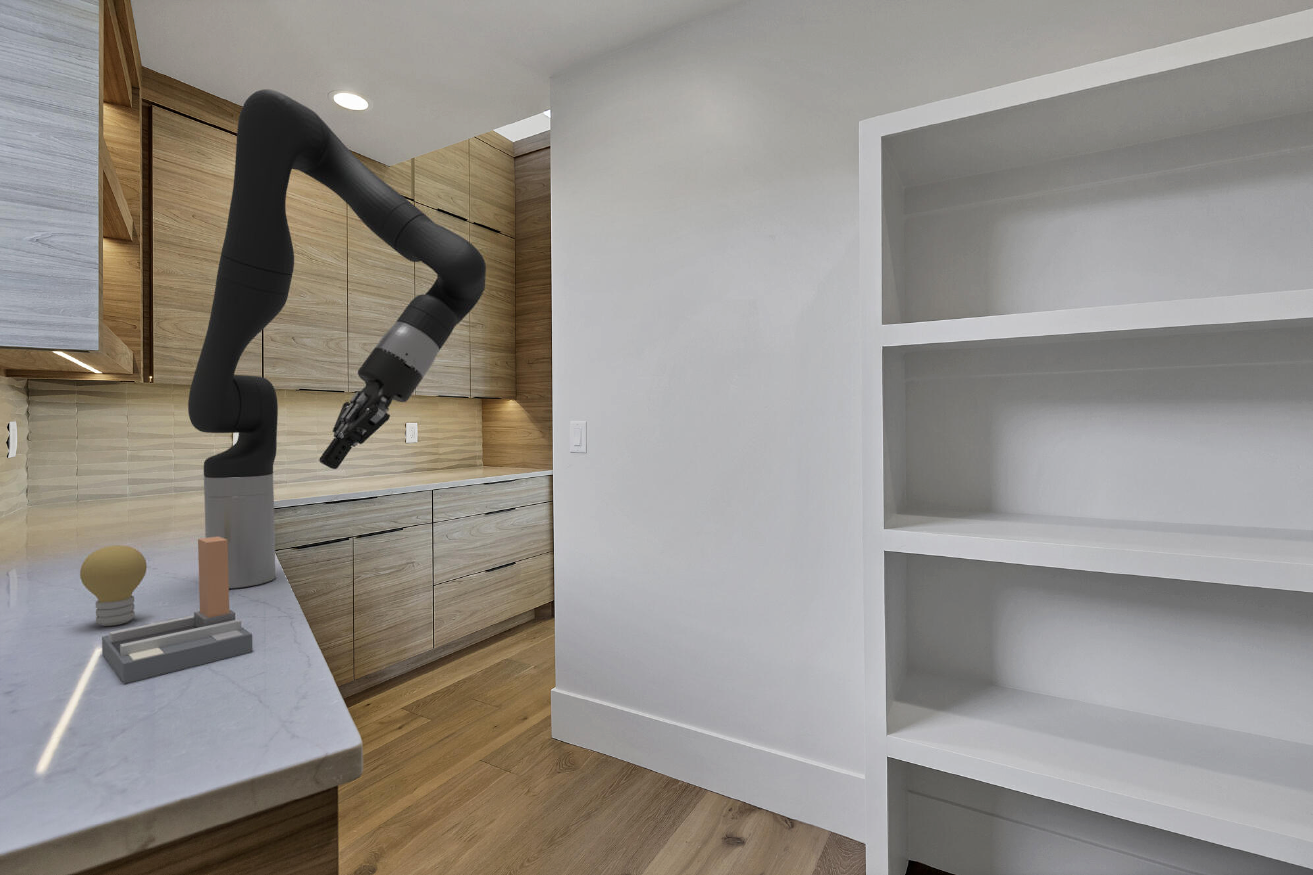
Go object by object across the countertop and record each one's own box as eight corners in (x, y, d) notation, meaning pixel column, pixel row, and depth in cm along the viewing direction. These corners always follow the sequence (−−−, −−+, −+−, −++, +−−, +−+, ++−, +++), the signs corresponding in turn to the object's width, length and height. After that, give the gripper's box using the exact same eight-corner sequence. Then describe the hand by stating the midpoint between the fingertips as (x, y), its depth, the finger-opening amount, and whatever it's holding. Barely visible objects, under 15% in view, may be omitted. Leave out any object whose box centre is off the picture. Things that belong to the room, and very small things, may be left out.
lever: (194, 625, 71) (192, 539, 71) (224, 618, 74) (222, 535, 73) (204, 632, 69) (201, 543, 68) (235, 625, 71) (233, 539, 71)
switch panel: (102, 654, 68) (101, 627, 68) (220, 628, 77) (219, 604, 76) (123, 683, 60) (123, 653, 60) (252, 651, 69) (251, 625, 69)
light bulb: (88, 635, 74) (85, 553, 74) (76, 625, 78) (74, 547, 78) (154, 621, 79) (152, 544, 79) (140, 612, 83) (138, 539, 83)
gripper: (361, 346, 90) (287, 446, 85) (395, 344, 81) (314, 456, 75) (404, 377, 95) (337, 473, 89) (440, 377, 85) (368, 486, 80)
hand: (327, 465), depth 82 cm, fingers closed
